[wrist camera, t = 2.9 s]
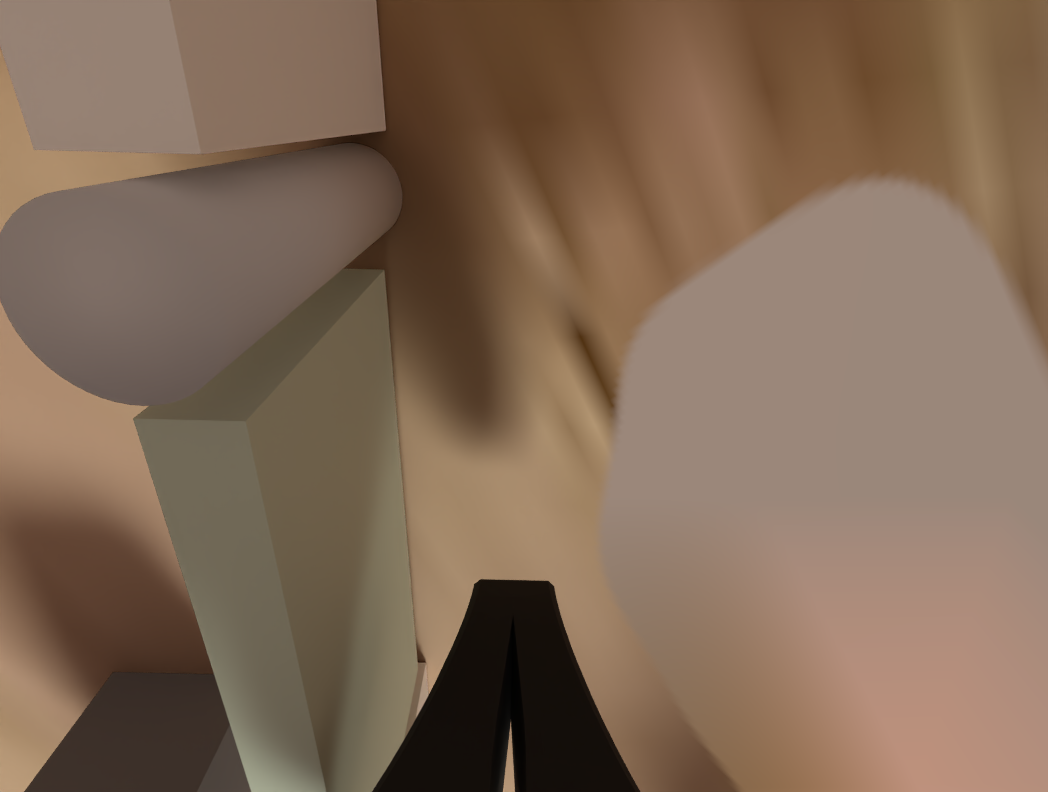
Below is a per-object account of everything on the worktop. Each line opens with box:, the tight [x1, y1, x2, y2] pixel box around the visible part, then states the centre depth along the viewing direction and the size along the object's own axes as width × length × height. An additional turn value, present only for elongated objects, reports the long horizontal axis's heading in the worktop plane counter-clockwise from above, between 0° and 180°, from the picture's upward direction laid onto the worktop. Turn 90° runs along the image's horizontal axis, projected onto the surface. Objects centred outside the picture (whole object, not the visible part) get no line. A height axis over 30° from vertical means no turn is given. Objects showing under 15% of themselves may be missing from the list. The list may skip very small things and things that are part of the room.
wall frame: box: [0, 0, 428, 739], centre depth 10 cm, size 2×18×6 cm, turn 179°
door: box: [133, 269, 418, 792], centre depth 10 cm, size 2×10×6 cm, turn 179°
